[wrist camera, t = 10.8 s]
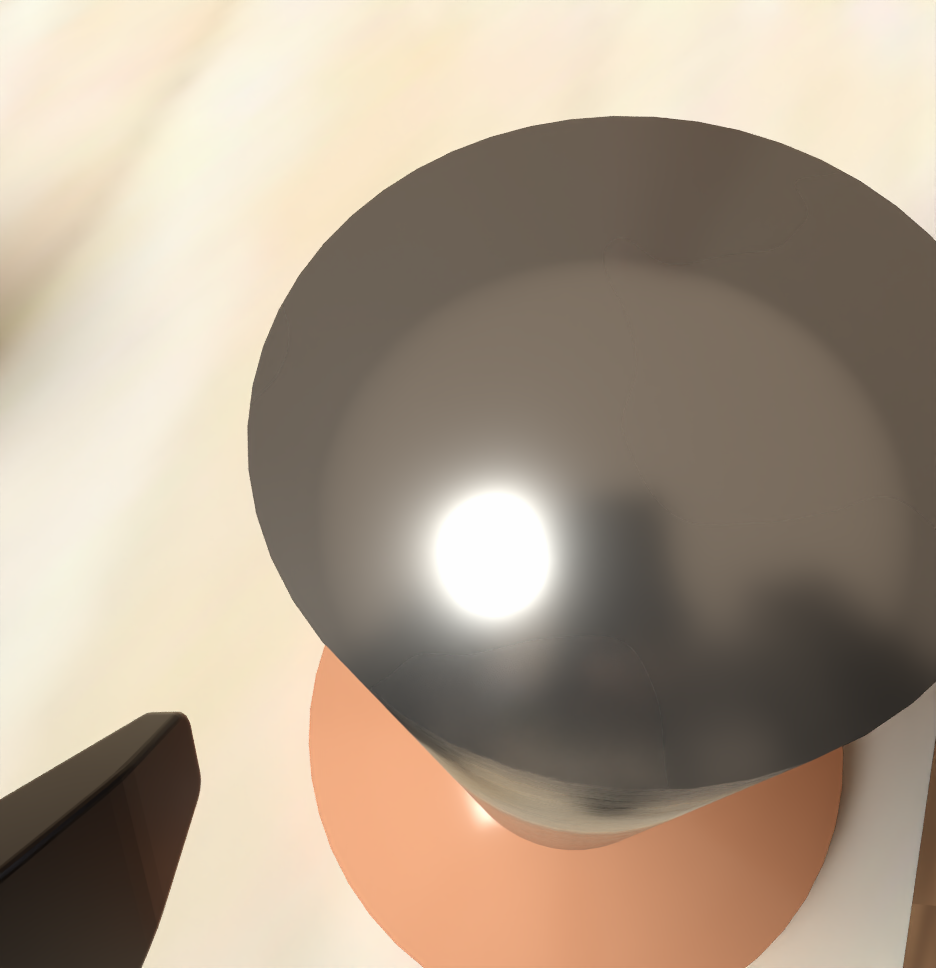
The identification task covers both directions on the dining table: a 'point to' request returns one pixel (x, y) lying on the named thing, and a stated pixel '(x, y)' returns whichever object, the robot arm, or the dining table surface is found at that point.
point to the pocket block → (924, 891)
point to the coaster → (555, 858)
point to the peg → (612, 465)
